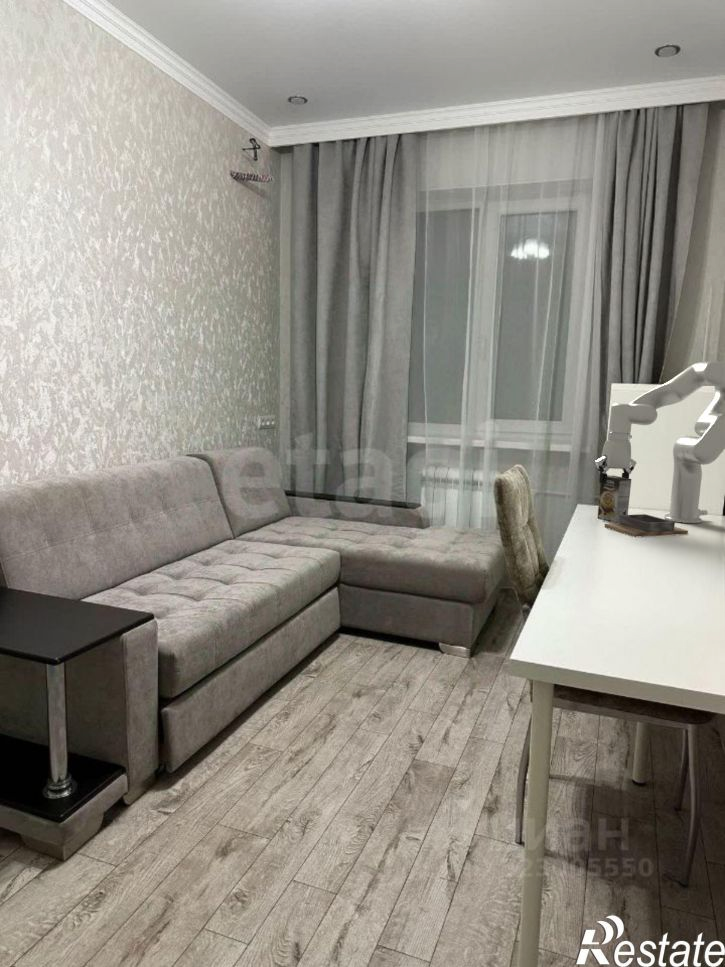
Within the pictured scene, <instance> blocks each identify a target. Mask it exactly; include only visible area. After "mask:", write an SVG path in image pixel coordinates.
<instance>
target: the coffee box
mask: <svg viewBox="0 0 725 967" xmlns="http://www.w3.org/2000/svg"><path fill="white" fill-rule="evenodd" d="M599 485H600V486H599V498H598V508H597V518H598V517H599V518H598V519H601V518H603V519H602V520H604V519H606V521H608V520H610V521H609V522H612V521H613V522H612V523H619V516H620V515H629V506H630V497H631V496H630V495H631V488H632V478H630V477H629V478H624V477H622V476H617V475H608V474H607V482H606V484H601V483H599Z"/></svg>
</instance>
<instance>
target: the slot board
mask: <svg viewBox="0 0 725 967" xmlns="http://www.w3.org/2000/svg"><path fill="white" fill-rule="evenodd" d="M675 524H676V522H674V521H670V520H667V519H665V518H661V517H657V516H653V515H649V514H646V513H644V514H643V513H642V514H638V513H637V514H628V515H620V516H619V522H612V523H604V528H605V527H607V528H606V529H609V528H610V529H609V530H612V529H613V530H612V531H615V530H616V531H615V532H618V531H619V532H618V533H621V532H622V533H621V534H624V533H625V535H627V534H628V536H630V535H631V537H633V536H634V537H633V538H637V537H636V536H641V537H656V536H675V535H676V534H679V535H688V534H689V530H687V529H684V528H680V527H677V526H675ZM687 533H688V534H687Z"/></svg>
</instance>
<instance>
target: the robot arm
mask: <svg viewBox="0 0 725 967" xmlns="http://www.w3.org/2000/svg"><path fill="white" fill-rule="evenodd" d="M704 386H714V397H713V398H712V400H711V403H710V404H709V405H708V406H707V408H706V409H705V410H704V412H702V414H701V415H700V416H699V418H698V419H697V420H696V422H695V424H694V428H693V429H694V432H695V434H696V435H697V436H693V435H686V436H682V437H680V438H678V439H677V440H676V442H675V443H674V444H673V449H672V455H673V456H672V457H673V458H672V459H673V473H672V474H673V475H672V483H671V484H672V485H671V493H670V494H671V496H670V503H669V504H670V505H669V513H668V514H667V513H666V514H664V518H663V519H665V520H669V521H672V522H675V523H681V522H682V523H683V524H700V523H702V518H701V516H707V515H708V510H706V509H702V510H701V509H700V508H699V505H700V494H701V485H702V478H703V476H702V475H703V471H702V466H703V465H704V466H705V465H709V464H712V463H714V462H715V461H716V460H717V459H718V458H719V457H720V455H721V454H723V452H724V450H725V362H724V361H723V362H722V361H716V360H711V361H709V360H706V361H705V360H704V361H697V362H695V363H693V364H692V365H690V366H689V367H687V368H685V369H684V370H683V371H682V372H680V373H678V374H677V375H676V376H674V377H673V378H671V379H670V380H668V381H667V382H665V383H663V384H661V385H659V386H657V387H654V388H653V389H650V390H649V391H647V392H645V393H642V394H641V395H640V396H638V397H637V398H634V400H633V401H631V402H629V403H613V404H612V405H611V407H610V416H609V425H608V433H607V440H605V441H604V445H603V447H602V451H601V457H600V458H598V459H597V460H595V461H594V462H595V465H596V469H597V470H598V473H599V480H598V481H599V484H606V482H607V475H608V473H607V472H608V471H609V470H610V469H611V470H613V469H614V470H616V469H617V470H618V469H619V470H620V469H621V470H622V473H621V477H624V478H629V479H630V475H631V474H632V472H633V471H634V469H635V466H636V465H637V462H636V460H634V459H633V458H632V444H631V443H632V442H631V441H630V440H631V439H632V437H633V436H632V434H631V432H632V431H631V430H632V425H638V426H648V425H652V424H654V422H656V420H657V418H658V411H657V410H658V409H661V408H663V407H667V406H672V405H675V404H678V403H680V402H683V400H685V399H687V398H688V397H689V396H691V395H692V394H694V393H695V392H696V391H698V390H699V389H701V388H702V387H704Z"/></svg>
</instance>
